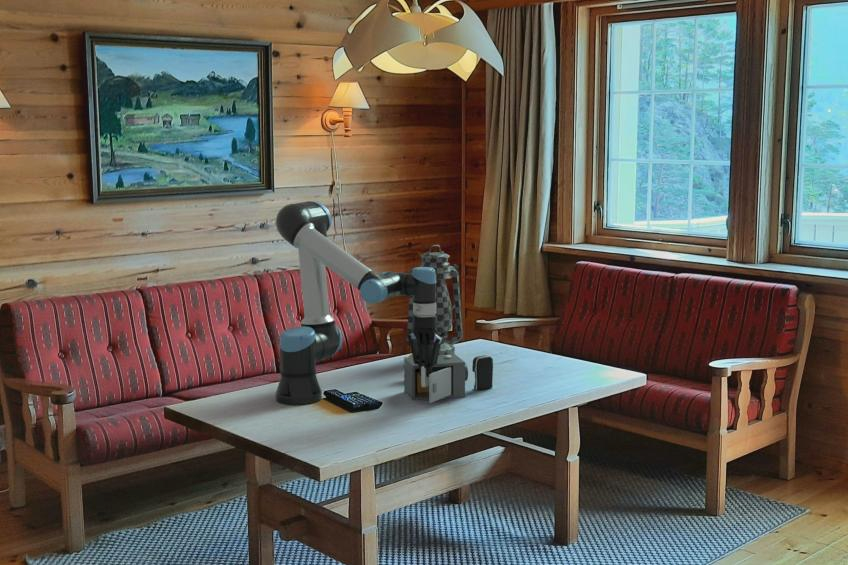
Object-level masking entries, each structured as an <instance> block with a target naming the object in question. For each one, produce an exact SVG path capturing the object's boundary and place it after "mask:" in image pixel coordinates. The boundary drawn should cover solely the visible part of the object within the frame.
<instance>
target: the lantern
mask: <svg viewBox="0 0 848 565" xmlns="http://www.w3.org/2000/svg"><path fill="white" fill-rule="evenodd" d="M435 247H437V248H438V250H439V252H438V251H436V252H434V251H433V252H431V250H432V248H435ZM441 247H442V246H440V244H433V245H430V246H429V250H428V251H427V252H424V253H423V254H420V256H419V257H420V258H421V260H422V261H421V262H420V265H419V267H431V268H433V269H434V270H435V275H436V314H435V316H436V332H437V335H438V336H439V337H440V338H441V337H442V338H443V341H442V343H441V345H440V350H439V355H450V354H455V355H456V351H455V350H456V349H455V344H458V343H459V342H460V341H461V339H462V338H463V337H464V336H463V335H464V334H463V333H464V331H463V323H462V322H463V319H462V305H461V304H462V303H461V290H460V289H461V288H460V275H459V274H460V273H459V270H460V266H458V264H456V263H454V264H453V265H450V264H451V263H450V262H448V261H449V258H450V255H449V254H448V253H445V252H444V251H443V250H442V249H441ZM414 268H415V267H412V268H410V269H409V270H410V273H412V270H413V269H414ZM450 279H451V280H452V290H453V291H452V292H453V305H452V302H451V298H450V293H449V290H448V286H447V283H446V282H447V280H450ZM453 310H454V322H455V334H456V336H453V337H450V338H448V337H449V334H448V331H450V329H451V328H452V325H453ZM407 313H408V317H407V330H406V331H407V333H406V336H407V335H409V334H411V333H413V330H414V326H413V316H414V314H413V296H409V302H408V312H407ZM406 344H407V345H408V346H409V347H410V348H411V346H410V342H409V340H408V338H407V337H406ZM433 345H434V340H433ZM433 345H432V349H433Z"/></svg>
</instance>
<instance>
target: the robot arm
mask: <svg viewBox="0 0 848 565" xmlns="http://www.w3.org/2000/svg"><path fill="white" fill-rule="evenodd" d="M332 221H333V220H332V215H331V213H330V210H329V209H328V208H327V207H326V206H325V205H324V203H321V202H319V201H314V200H313V201H310V200H307V201H303V202H297V203H289V204H286V205H284V206H283V207H282V208H281V209H280V210H279V211H278V213H277V215H276V217H275V226H276V230H277V232H278V234H279V235H280V236H281V237H282V238H283V239H284V240H285V241H286V242H287V243H289V244H290V245H291V246H293V247H294V248H296V249H297V250H298V259H299V260H298V261H299V272H300V281H301V282H300V284H301V292H302V293H301V294H302V304H303V313H304V318H303V319H302V320H301V321H300V326H295V327H289V328H287V329H285V330H283V331H282V332H281V334H280V336H279V343H278V344H279V345H278V346H279V357H280V358H279V359H280V361H279V362H280V363H279V364H280V378H279V382H278V385H277V387H276V392H275V401H277V402H278V403H281V404H284V405H295V406H297V405H307V404H309V405H310V404H314V403H316V402H319V401H321V400H322V398H323V396H322V389H321V386H320V383H319V380H318V378H317V370H316V367H317V365H316V363H317V362H321V361H323V360H326V359H329V358H331V357H333V356H334V355H336V354H337V353H338V351H340V349H341V347H342V345H343V334H342V331H341V329H340V328H339V327H338V325H336V320H335V318H334V317H333V316H332V315H331V313H330V303H329V294H328V293H329V292H328V282H327V272H326V271H327V270H326V267H327V268H329V270H331V271H333V273H335V274H336V275H338V276H339V277H340V278H342V279H343V280H345V282H347V283H348V284H349V285H352V287H354V288H355V289H356V290H358V291H359V293H360V296H361V299H362V300H363V301H365V302H366V303H368V304H378V303H381V302H383V301H386V300H389V299H391V298H392V299H393V298H394V297H398V296H400V297H401V296H402V297H403V296H406V297H410V296H413V314H414V316H413V326H414V330H413V333H411V334H409V335H407V334H406V339H407V338H408V340H409V342H410V346H411V347H410V346H409V347H410V351H411V354H412V355H413V360H414V363H415V364H418V365H419V372H420V373H419V374H420V376H421V387H427V386H429V374H431V373H432V372H431V367H432V366H434V365H436V364H437V360H438V355H439V350H440V345H441V343H442V341H443V340H444V338H442V337H441V338H440V337H439V336H438V335H437V332H436V316H435V314H436V275H435V270H434V269H433V268H431V267H420V266H418V267H417V266H416V267H413V268H414V269H413V270H412V273H411V272H396V271H382V272H381V273H380V274H379V275H378V274H377V273H376V272H374V271H373V270H372V269H371V268H369V267H368V266H366V265H365V264H364V263H362V262H361V261H359V259H357V258H355V257H354V256H353V255H351V254H349V253H348V252H347V251H346V250H344V249H343V248H341V247H340V246H339V245H337V244H336V243H335V242H333V240H331V239H329V238H328V233H327V232H328V231H329V230H330V228H331V226H332ZM433 340H434V345H433ZM432 345H433V349H432Z"/></svg>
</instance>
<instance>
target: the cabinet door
mask: <svg viewBox="0 0 848 565" xmlns="http://www.w3.org/2000/svg"><path fill="white" fill-rule="evenodd" d="M449 395H451V367H448V368H445V369H442V370H440V371H437V372H434V373H431V374H429V400H428V403H430V404H433V403H434V402H437V401H439V400H443V399H442V398H444V397H447V396H449Z"/></svg>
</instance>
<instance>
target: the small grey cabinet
mask: <svg viewBox="0 0 848 565" xmlns="http://www.w3.org/2000/svg"><path fill="white" fill-rule="evenodd" d="M403 360H404V361H403V380H404V381H403V385H404V386H403V388H404V389H403V390H404V391H403V392H404V393H405V394H406V395H407V396H408V397H409V399H410V400H411V401H413V402H417V401H418V402H419V401H420V402H421V401H429V386H427V387H421V376H420V374H419V373H420V372H419V365H418V364H415V363H414V360H413V357H409V356H406V357H403ZM448 367H451V395H449V396H447V397H444V398H442V399H441V400H443V399H444V400H445V399H447V400H448V399H458V398H460V399H461V398H466V381H468V378H469V369H468V364H466V362H465V360H463V359H462V358H461V357H459V356H458V355H456V353H455V354H450V355H438V360H437V364H436V365H434V366H432V367H431V372H432V373H434V372H437V371H440V370H442V369H445V368H448Z"/></svg>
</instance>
